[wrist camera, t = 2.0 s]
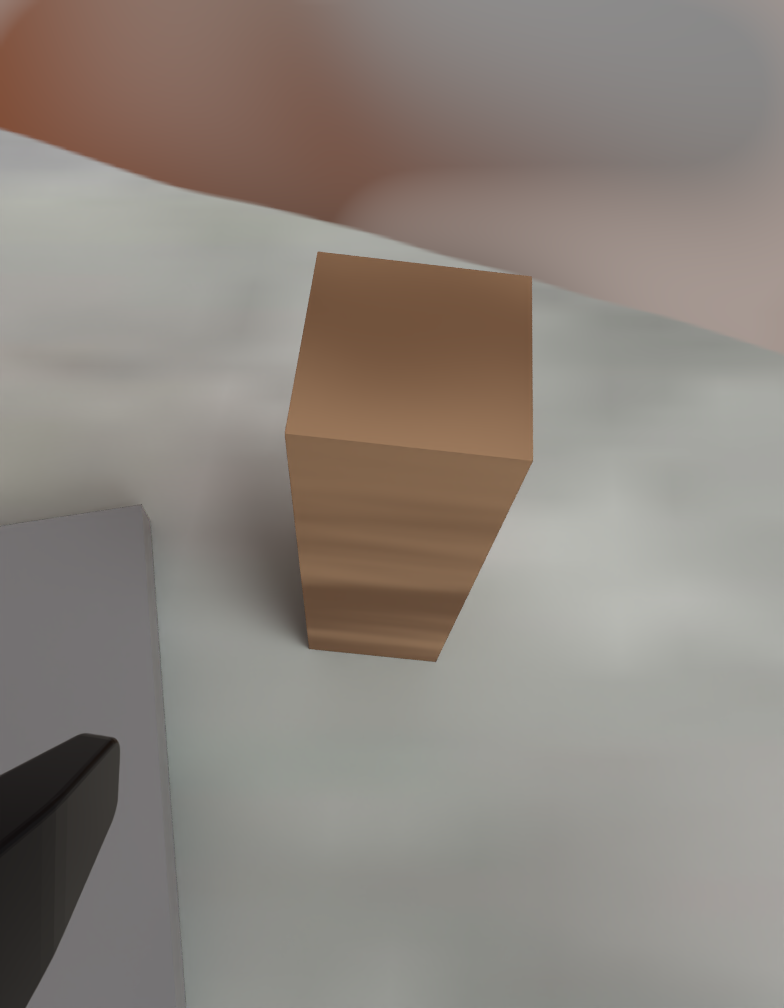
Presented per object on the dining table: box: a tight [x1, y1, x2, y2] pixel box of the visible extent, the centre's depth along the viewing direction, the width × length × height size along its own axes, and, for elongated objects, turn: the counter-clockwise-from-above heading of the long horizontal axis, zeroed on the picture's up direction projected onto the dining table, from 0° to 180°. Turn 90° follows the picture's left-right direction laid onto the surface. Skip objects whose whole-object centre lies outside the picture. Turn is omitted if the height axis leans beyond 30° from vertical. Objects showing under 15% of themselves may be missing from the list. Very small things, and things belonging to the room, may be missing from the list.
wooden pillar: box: [285, 252, 533, 662], centre depth 18 cm, size 4×4×12 cm
